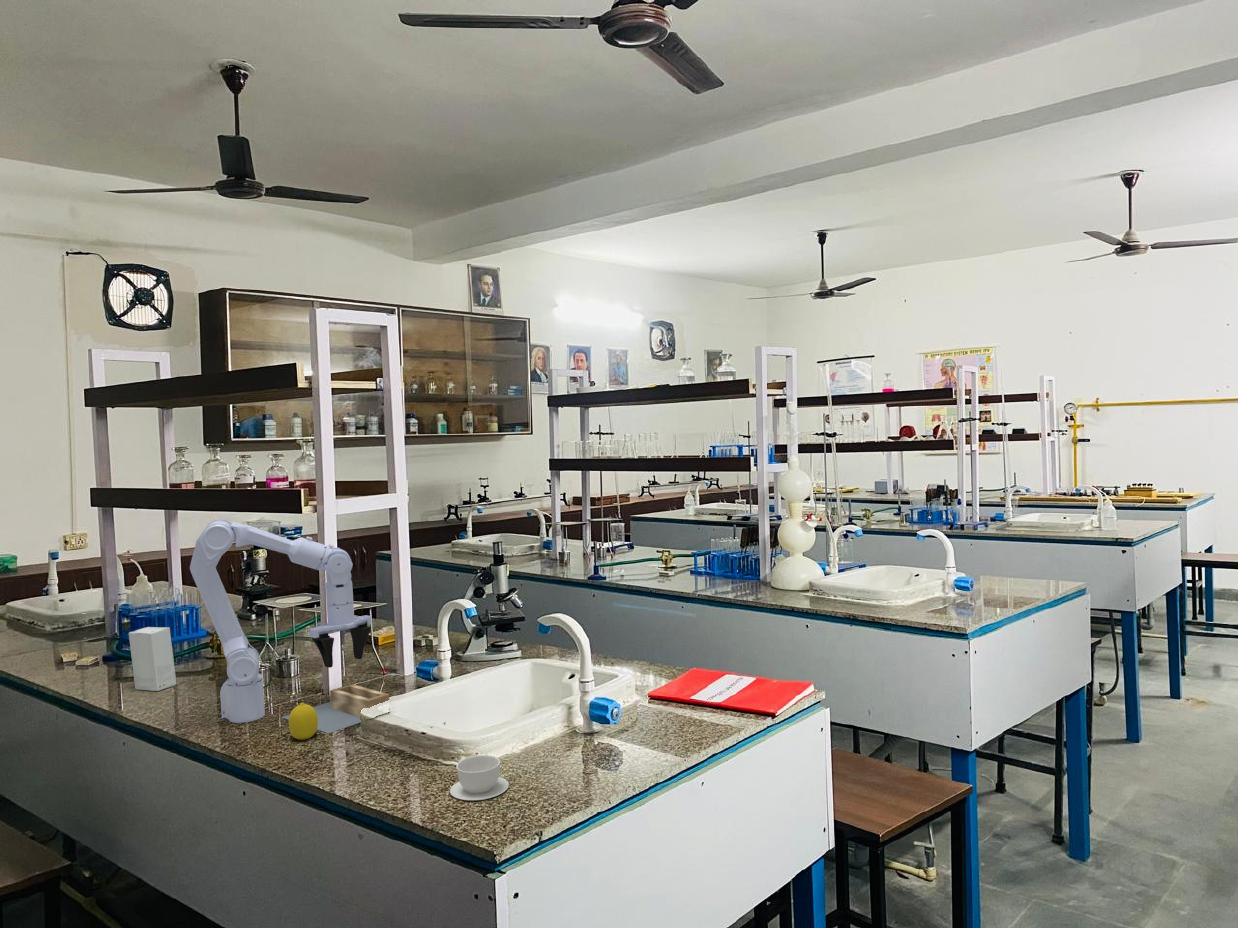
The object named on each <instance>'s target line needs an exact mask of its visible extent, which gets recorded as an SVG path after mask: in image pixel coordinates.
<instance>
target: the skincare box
mask: <svg viewBox="0 0 1238 928" xmlns="http://www.w3.org/2000/svg"><path fill="white" fill-rule="evenodd" d="M171 635H172V634H171V628H170V627H169V626H168V627H167V626H166V627H165V626H164V627H163V626H161V627H159V626H158V627H157V626H156V627H155V626H147V627H143V628H139V629H136V630H132V631H130V632H128V640H129V646H130V648H129V649H130V655H131V664H132V672H133V682H134V689H135V690H139V691H140V690H142V691H152V692H160V691H161V690H165V689H167V688H168V689H169V688H171V687H175V686H176V685H177V678H176V669H175V661H174V653H173V645H172V637H171Z"/></svg>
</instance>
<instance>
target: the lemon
mask: <svg viewBox="0 0 1238 928" xmlns="http://www.w3.org/2000/svg"><path fill="white" fill-rule="evenodd" d="M313 707H314V706H312V705H310V704H306V703H304V702H301V703H299V704H298V705H297V706H295V707H294V708H293V709H292V710H291V711H290V714H289V715H290V716H289V720H288V729H289V733H290V735H291V736H292V737H293V738H294V739H296V740H299V741H304V740H308V739H310V738H312V737H314V735H315V733H316V732H317V727H318V717H317V714H316V711H315V709H314V708H313Z"/></svg>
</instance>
